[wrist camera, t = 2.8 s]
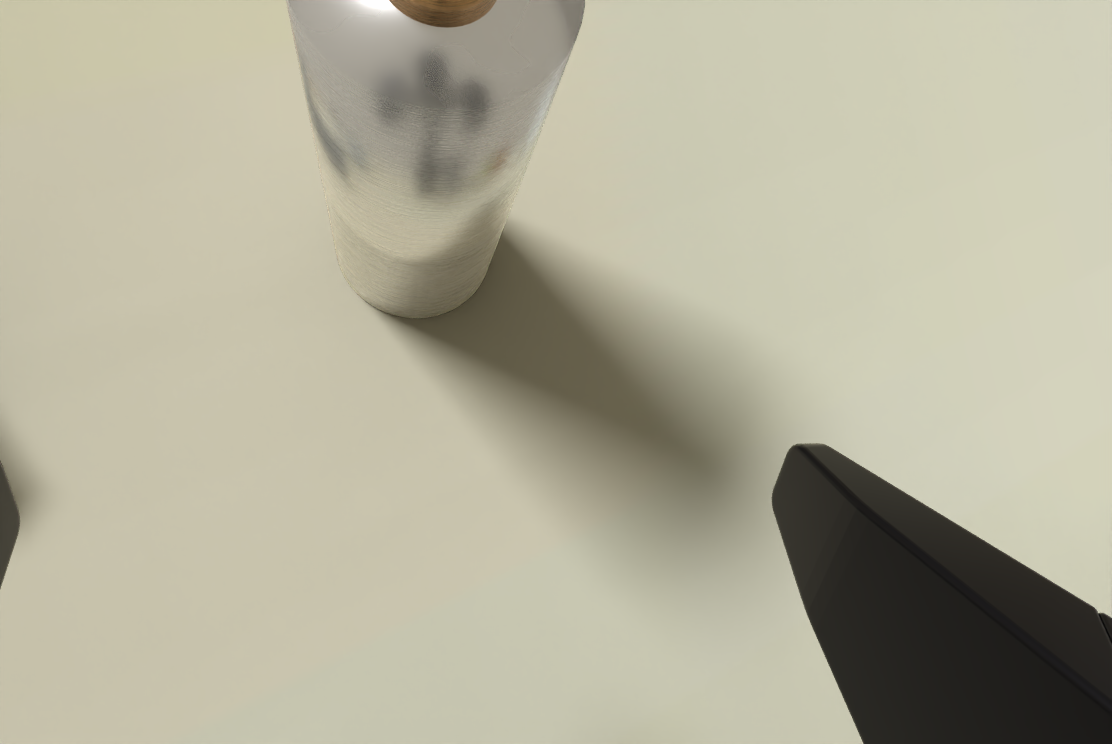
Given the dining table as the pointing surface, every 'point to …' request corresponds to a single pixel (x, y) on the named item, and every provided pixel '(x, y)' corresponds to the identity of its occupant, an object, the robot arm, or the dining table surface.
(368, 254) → the silver metal cylinder
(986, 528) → the dining table surface
